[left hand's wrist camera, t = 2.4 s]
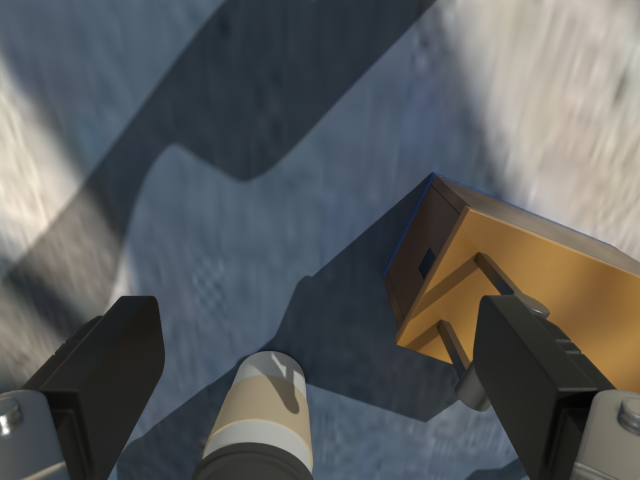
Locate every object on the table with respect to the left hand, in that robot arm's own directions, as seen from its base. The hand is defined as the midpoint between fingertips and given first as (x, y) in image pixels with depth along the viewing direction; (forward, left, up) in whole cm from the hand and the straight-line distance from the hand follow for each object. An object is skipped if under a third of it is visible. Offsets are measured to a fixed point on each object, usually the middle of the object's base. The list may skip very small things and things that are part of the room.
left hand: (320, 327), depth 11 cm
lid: (-11, +14, -17) cm, 25 cm away
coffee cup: (+12, +20, -27) cm, 36 cm away
